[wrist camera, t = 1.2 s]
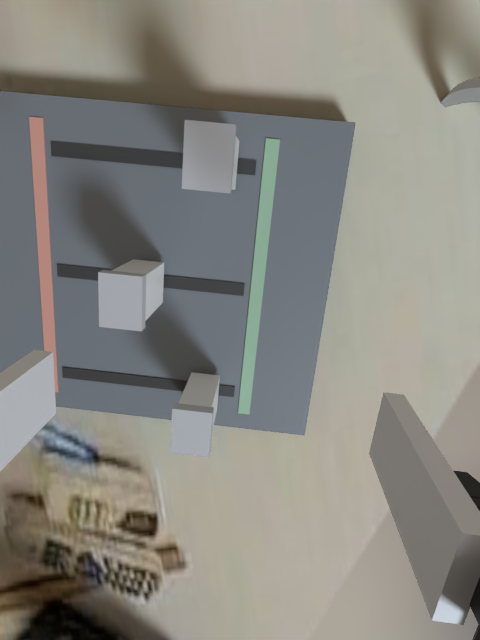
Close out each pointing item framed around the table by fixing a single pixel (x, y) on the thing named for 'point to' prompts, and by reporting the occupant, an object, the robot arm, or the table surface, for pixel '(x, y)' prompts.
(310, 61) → the table surface
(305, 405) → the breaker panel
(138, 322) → the block
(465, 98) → the pliers
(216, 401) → the block
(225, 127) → the block
